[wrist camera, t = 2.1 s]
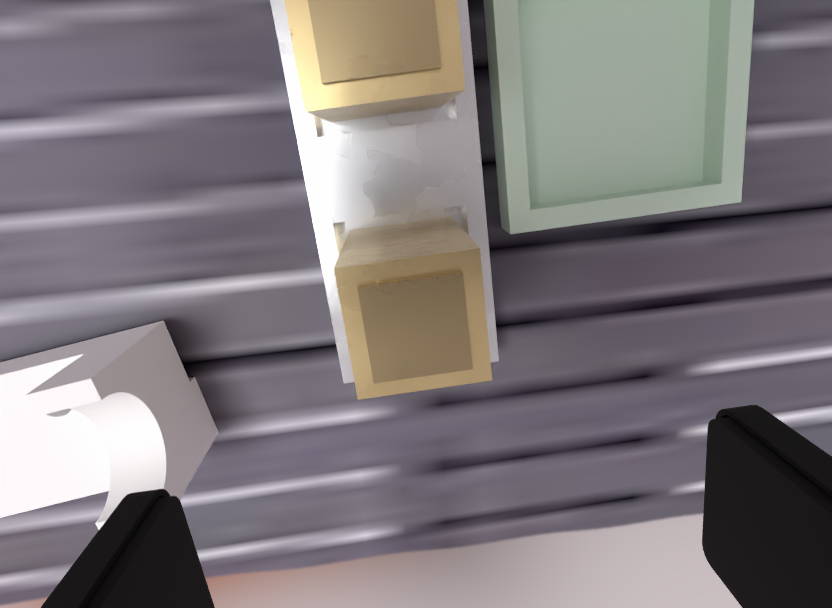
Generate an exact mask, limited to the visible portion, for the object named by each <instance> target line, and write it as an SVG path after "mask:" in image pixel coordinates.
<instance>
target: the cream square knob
mask: <svg viewBox="0 0 832 608" xmlns="http://www.w3.org/2000/svg"><path fill="white" fill-rule="evenodd" d="M284 2H285V8H286V13H287V18H288V24H289V29H290V35H291V40H292V45H293V51H294V56H295V62H296V67H297V72H298V78H299V83H300V89H301V94H302V100H303V105H304V110H305V112H307V113H309V114H312V115H314V116H317V117H319V118H322V119H324V120H327V121H330V122H337V121H344V120H351V119H359V118H366V117H373V116H381V115H388V114H396V113H403V112H410V111H418V110H425V109H432V108H440V107H441V106H442V105H444V104H445V103H447V102H448V101H450V100H451V99H453V98H454V97H456V96H457V95H459V94H460V93H462V92H463V91H465V81H464V71H463V60H462V49H461V38H460V28H459V17H458V6H457V0H284Z"/></svg>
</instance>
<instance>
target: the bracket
mask: <svg viewBox="0 0 832 608" xmlns="http://www.w3.org/2000/svg"><path fill="white" fill-rule="evenodd" d="M217 435H218V430H217V428H216V426H215V423H214V421H213V419H212V416H211V414H210V411H209V409H208V407H207V404H206V402H205V400H204V397H203V395H202V393H201V390H200V388H199V386H198V383H197V381H196V379H195V377H192V378H188V376H187V374H186V371H185V369H184V367H183V364H182V362H181V360H180V358H179V355H178V353H177V351H176V348H175V346H174V344H173V341H172V339H171V337H170V334H169V332H168V330H167V327H166V325H165V323H164V321H160V322H156V323H152V324H148V325H144V326H140V327H136V328H133V329H129V330H125V331H121V332H117V333H113V334H109V335H105V336H101V337H97V338H94V339H90V340H86V341H82V342H78V343H74V344H70V345H66V346H62V347H58V348H54V349H51V350H47V351H43V352H39V353H35V354H31V355H27V356H23V357H19V358H15V359H12V360H8V361H4V362H0V518H1V517H5V516H9V515H13V514H17V513H21V512H25V511H29V510H33V509H37V508H41V507H45V506H49V505H53V504H57V503H61V502H65V501H69V500H73V499H77V498H81V497H85V496H89V495H93V494H98V493H102V492H106V491H109V494H108V498H107V501H106V504H105V507H104V509H103V511H102V514H101V515H100V517H99V519H98V520H97V522H96V523H95V524H96V526H97V527H98V529H99V530H100V528H101V527H102V526H103V524H104V523H105V522H106V520H107V519H108V518H109V516H110V515H111V514H112V512H113V511H114V510H115V508H116V507H117V506H118V504H119V503H120V502H121V501H122V499H123V498H124V497H125V496H126V495H127V494H130V493H135V492H142V491H149V490H156V489H165V490H166V491H167V492H168V493H169V494H170V496H177V497H178V498H179V500H180V498H181V497H182V495H183V493H184V491H185V490H186V488H187V486H188V485H189V483H190V481H191V479H192V478H193V476H194V474H195V472H196V471H197V469H198V467H199V466H200V464H201V462H202V460H203V459H204V457H205V455H206V454H207V452H208V450H209V448H210V447H211V445H212V443H213V441H214V440H215V438H216V436H217Z"/></svg>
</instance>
